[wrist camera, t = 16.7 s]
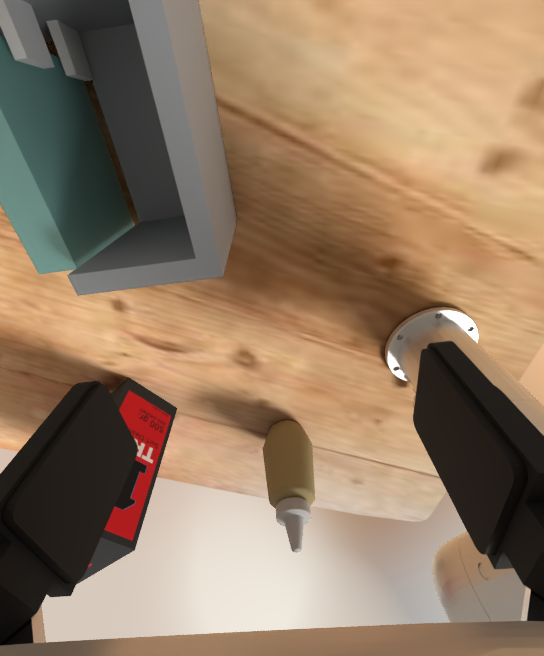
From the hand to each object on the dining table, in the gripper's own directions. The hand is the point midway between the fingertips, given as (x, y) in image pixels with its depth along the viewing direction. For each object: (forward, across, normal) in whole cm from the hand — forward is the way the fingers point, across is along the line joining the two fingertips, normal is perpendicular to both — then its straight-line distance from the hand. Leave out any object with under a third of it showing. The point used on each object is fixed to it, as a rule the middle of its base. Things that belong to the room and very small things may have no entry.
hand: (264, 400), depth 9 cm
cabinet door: (+28, +16, -8) cm, 34 cm away
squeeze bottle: (+30, +2, +36) cm, 47 cm away
